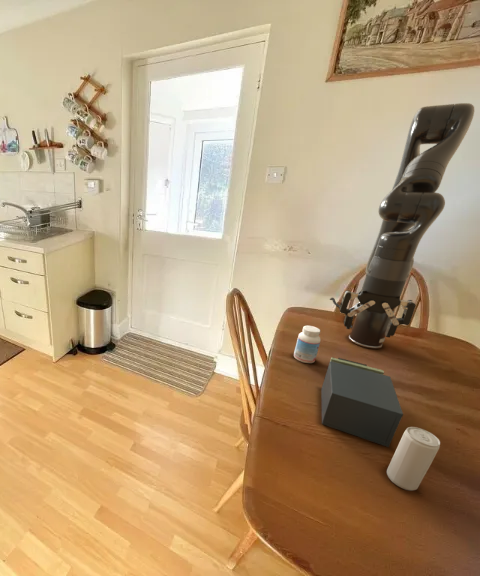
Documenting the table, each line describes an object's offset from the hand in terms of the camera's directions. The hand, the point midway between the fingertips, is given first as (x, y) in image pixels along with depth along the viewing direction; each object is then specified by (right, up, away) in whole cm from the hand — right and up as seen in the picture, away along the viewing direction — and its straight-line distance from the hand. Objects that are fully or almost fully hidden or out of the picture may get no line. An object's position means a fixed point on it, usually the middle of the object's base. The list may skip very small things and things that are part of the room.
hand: (366, 331), depth 84 cm
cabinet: (-7, -21, -4) cm, 22 cm away
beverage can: (-11, -28, -21) cm, 36 cm away
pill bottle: (-4, -12, +20) cm, 23 cm away
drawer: (-3, -18, +2) cm, 18 cm away
